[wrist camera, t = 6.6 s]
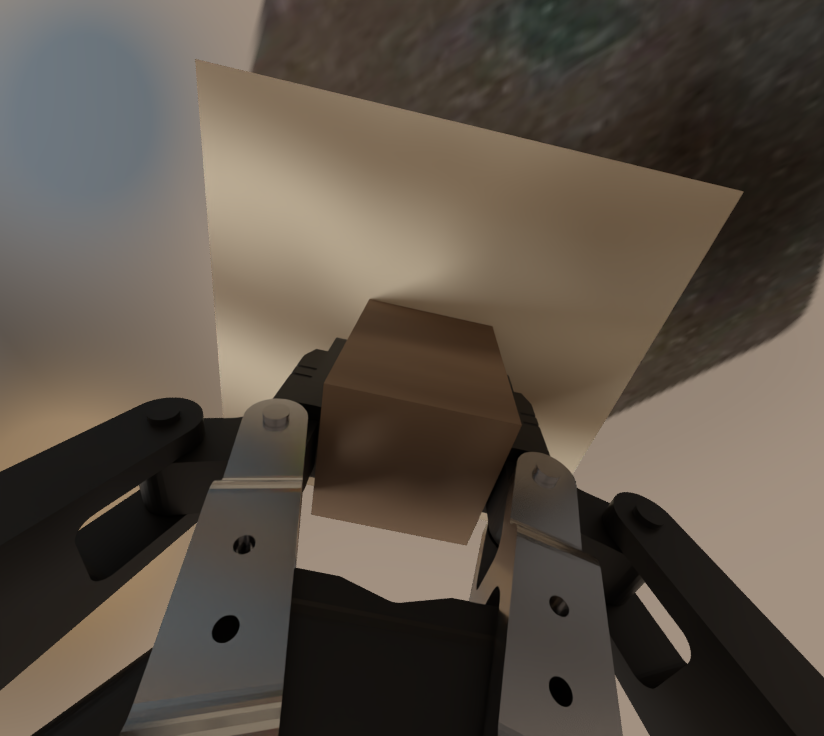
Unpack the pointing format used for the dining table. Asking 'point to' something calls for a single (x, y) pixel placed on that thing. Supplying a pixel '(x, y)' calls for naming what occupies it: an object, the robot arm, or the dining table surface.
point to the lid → (431, 287)
